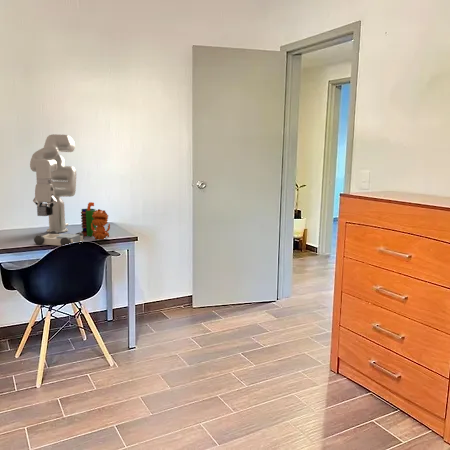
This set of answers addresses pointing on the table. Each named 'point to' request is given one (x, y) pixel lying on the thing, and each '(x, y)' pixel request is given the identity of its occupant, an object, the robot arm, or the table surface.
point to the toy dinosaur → (100, 224)
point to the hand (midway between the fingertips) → (45, 213)
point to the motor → (87, 220)
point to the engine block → (43, 210)
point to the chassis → (58, 238)
